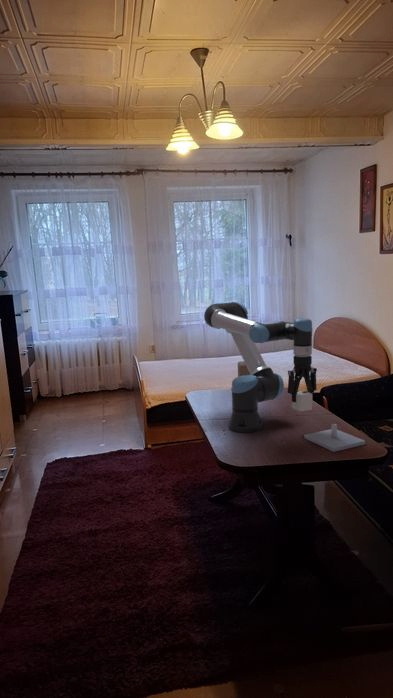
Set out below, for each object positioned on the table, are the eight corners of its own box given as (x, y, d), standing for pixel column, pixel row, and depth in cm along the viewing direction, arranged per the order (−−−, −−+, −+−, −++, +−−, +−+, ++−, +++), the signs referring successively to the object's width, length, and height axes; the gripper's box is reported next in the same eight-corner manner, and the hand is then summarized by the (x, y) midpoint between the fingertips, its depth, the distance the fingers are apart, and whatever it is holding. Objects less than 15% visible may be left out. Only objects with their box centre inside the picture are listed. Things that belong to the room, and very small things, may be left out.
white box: (300, 411, 194) (300, 394, 193) (292, 408, 199) (292, 391, 198) (312, 409, 196) (312, 392, 195) (303, 406, 202) (303, 389, 201)
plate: (333, 451, 177) (333, 434, 176) (304, 438, 193) (304, 422, 192) (365, 444, 184) (365, 427, 183) (334, 431, 200) (334, 416, 199)
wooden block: (255, 393, 271) (254, 360, 268) (257, 398, 261) (257, 363, 258) (238, 394, 271) (237, 361, 268) (240, 399, 261) (239, 364, 258)
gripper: (289, 359, 187) (288, 413, 191) (326, 354, 195) (325, 407, 198) (278, 356, 194) (278, 409, 197) (314, 351, 201) (314, 402, 205)
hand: (302, 407), depth 198 cm, fingers closed on white box, 6 cm apart
